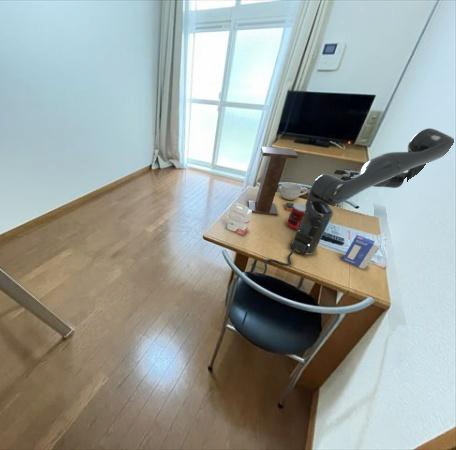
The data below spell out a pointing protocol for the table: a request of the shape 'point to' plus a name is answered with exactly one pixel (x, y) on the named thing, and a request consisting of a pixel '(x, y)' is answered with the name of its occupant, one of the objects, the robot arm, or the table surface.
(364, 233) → the table surface
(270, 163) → the walnut stand
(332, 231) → the table surface
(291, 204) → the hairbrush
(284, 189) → the teacup
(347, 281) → the table surface
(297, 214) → the canned food
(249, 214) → the ink cartridge box
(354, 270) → the table surface
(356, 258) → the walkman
